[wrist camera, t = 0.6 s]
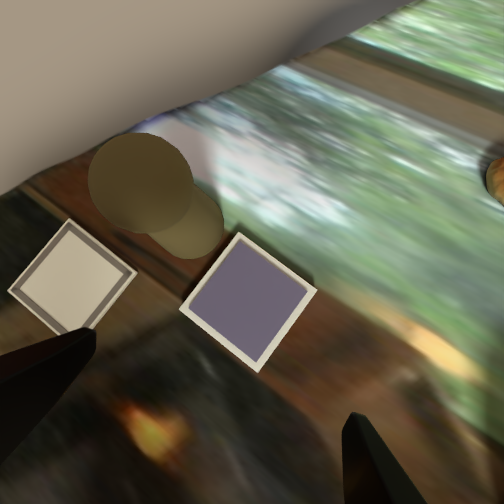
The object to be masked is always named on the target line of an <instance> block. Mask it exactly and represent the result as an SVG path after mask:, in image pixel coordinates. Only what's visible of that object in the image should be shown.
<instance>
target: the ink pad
mask: <svg viewBox="0 0 504 504" xmlns="http://www.w3.org/2000/svg"><path fill="white" fill-rule="evenodd" d="M316 291H317V289H315V288H314V287H313V286H311V285H310V284H309V283H307V282H306V281H305V280H303V279H302V278H301V277H299V276H298V275H296V274H295V273H294V272H292V271H291V270H290V269H288V268H287V267H286V266H284V265H283V264H282V263H280V262H279V261H278V260H276V259H275V258H274V257H272V256H271V255H270V254H268V253H267V252H265V251H264V250H263V249H261V248H260V247H259V246H257V245H256V244H255V243H253V242H252V241H251V240H249V239H248V238H247V237H245V236H244V235H243V234H241V233H240V232H238V233H237V235H236V236H235V237H234V238H233V240H232V241H231V242H230V244H229V245H228V246H227V248H226V249H225V250H224V251H223V253H222V254H221V255H220V257H219V258H218V259H217V260H216V262H215V263H214V264H213V266H212V267H211V268H210V270H209V271H208V272H207V273H206V275H205V276H204V277H203V279H202V280H201V281H200V282H199V284H198V285H197V286H196V288H195V289H194V290H193V292H192V293H191V294H190V295H189V297H188V298H187V299H186V301H185V302H184V303H183V304H182V306H181V307H180V308H179V310H180V311H181V312H183V313H184V314H185V315H186V316H188V317H189V318H190V319H191V320H193V321H194V322H195V323H196V324H198V325H199V326H200V327H201V328H203V329H204V330H205V331H206V332H207V333H209V334H210V335H211V336H212V337H214V338H215V339H216V340H217V341H219V342H220V343H221V344H222V345H224V346H225V347H226V348H227V349H229V350H230V351H231V352H232V353H234V354H235V355H236V356H237V357H239V358H240V359H241V360H242V361H244V362H245V363H246V364H247V365H248V366H250V367H251V368H252V369H253V370H255V371H256V372H257V373H258V372H259V370H260V369H261V368H262V366H263V365H264V363H265V362H266V361H267V359H268V358H269V357H270V355H271V354H272V352H273V351H274V350H275V348H276V347H277V345H278V344H279V343H280V341H281V340H282V339H283V337H284V336H285V334H286V333H287V332H288V330H289V329H290V327H291V326H292V325H293V323H294V322H295V320H296V319H297V318H298V316H299V315H300V314H301V312H302V311H303V309H304V308H305V307H306V305H307V304H308V302H309V301H310V300H311V298H312V297H313V296H314V294H315V293H316Z"/></svg>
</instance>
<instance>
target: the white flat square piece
mask: <svg viewBox="0 0 504 504" xmlns="http://www.w3.org/2000/svg"><path fill="white" fill-rule="evenodd" d="M137 273H138V272H137V271H135V270H134V269H133V268H132V267H130V266H129V265H128V264H127V263H125V262H124V261H123V260H122V259H120V258H119V257H118V256H117V255H115V254H114V253H113V252H112V251H110V250H109V249H108V248H107V247H105V246H104V245H103V244H102V243H100V242H99V241H98V240H97V239H95V238H94V237H93V236H92V235H90V234H89V233H88V232H87V231H85V230H84V229H83V228H82V227H81V226H79V225H78V224H77V223H76V222H74V221H73V220H72V219H70V218H69V219H68V220H67V221H66V222H65V223H64V225H63V226H62V227H61V228H60V229H59V230H58V232H57V233H56V234H55V235H54V236H53V238H52V239H51V240H50V241H49V242H48V243H47V245H46V246H45V247H44V248H43V249H42V250H41V252H40V253H39V254H38V255H37V256H36V258H35V259H34V260H33V261H32V262H31V263H30V265H29V266H28V267H27V268H26V269H25V270H24V272H23V273H22V274H21V275H20V276H19V278H18V279H17V280H16V281H15V282H14V283H13V285H12V286H11V287H10V288H9V289H8V290H7V291H8V292H9V293H10V294H12V295H13V296H14V297H15V298H16V299H17V300H18V301H20V302H21V303H22V304H23V305H24V306H25V307H26V308H28V309H29V310H30V311H31V312H32V313H33V314H34V315H36V316H37V317H38V318H39V319H40V320H41V321H42V322H44V323H45V324H46V325H47V326H48V327H49V328H50V329H52V330H53V331H54V332H55V333H56V334H57V335H61V334H64V333H67V332H70V331H73V330H75V329H78V328H81V327H87V328H91V329H93V328H94V327H95V326H96V325H97V323H98V322H99V321H100V320H101V318H102V317H103V316H104V315H105V313H106V312H107V311H108V310H109V308H110V307H111V306H112V305H113V303H114V302H115V301H116V300H117V298H118V297H119V296H120V295H121V293H122V292H123V291H124V290H125V288H126V287H127V286H128V285H129V283H130V282H131V281H132V280H133V278H134V277H135V276H136V275H137Z"/></svg>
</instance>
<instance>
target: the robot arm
mask: <svg viewBox="0 0 504 504" xmlns="http://www.w3.org/2000/svg"><path fill="white" fill-rule="evenodd" d="M95 350H96V331H95V330H94V329H91V328H87V327H81V328H78V329H75V330H73V331H70V332H67V333H64V334H61V335H58V336H55V337H52V338H50V339H47V340H44V341H41V342H38V343H35V344H32V345H30V346H27V347H24V348H21V349H18V350H15V351H12V352H9V353H7V354H4V355H1V356H0V465H1V464H2V463H3V462H4V461H5V460H6V458H7V457H8V456H9V455H10V454H11V453H12V452H13V451H14V450H15V448H16V447H17V446H18V445H19V444H20V443H21V442H22V441H23V439H24V438H25V437H26V436H27V435H28V434H29V433H30V432H31V431H32V429H33V428H34V427H35V426H36V425H37V424H38V423H39V422H40V421H41V419H42V418H43V417H44V416H45V415H46V414H47V413H48V412H49V411H50V409H51V408H52V407H53V406H54V405H55V404H56V403H57V402H58V400H59V399H60V398H61V397H62V396H63V394H64V393H65V392H66V391H67V389H68V388H69V387H70V385H71V384H72V383H73V381H74V380H75V379H76V377H77V376H78V375H79V373H80V372H81V371H82V369H83V368H84V367H85V365H86V364H87V363H88V361H89V360H90V359H91V357H92V356H93V354H94V353H95ZM342 463H343V490H344V500H345V504H427V502H426V501H425V499H424V498H423V497H422V495H421V494H420V492H419V491H418V489H417V488H416V487H415V485H414V484H413V482H412V481H411V479H410V478H409V477H408V475H407V474H406V472H405V471H404V469H403V468H402V467H401V465H400V464H399V462H398V461H397V460H396V458H395V457H394V455H393V454H392V452H391V451H390V450H389V448H388V447H387V445H386V444H385V442H384V441H383V440H382V438H381V437H380V435H379V434H378V432H377V431H376V430H375V428H374V427H373V425H372V424H371V422H370V421H369V420H368V418H367V417H366V416H365V415H362V414H359V413H356V412H352V413H351V414H350V416H349V418H348V419H347V421H346V423H345V425H344V427H343V430H342Z"/></svg>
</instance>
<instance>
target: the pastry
mask: <svg viewBox="0 0 504 504" xmlns="http://www.w3.org/2000/svg"><path fill="white" fill-rule="evenodd" d="M486 182H487V189H488V192H489V193H490V194H491V196H492V197H493V198H495V199H496V200H498V201H499V202H501V204H502V205H503V206H504V157H503V158H501V159H496V160H494V161H493V162H492V163H491V164H490V166H489V168H488V170H487V174H486Z"/></svg>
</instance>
